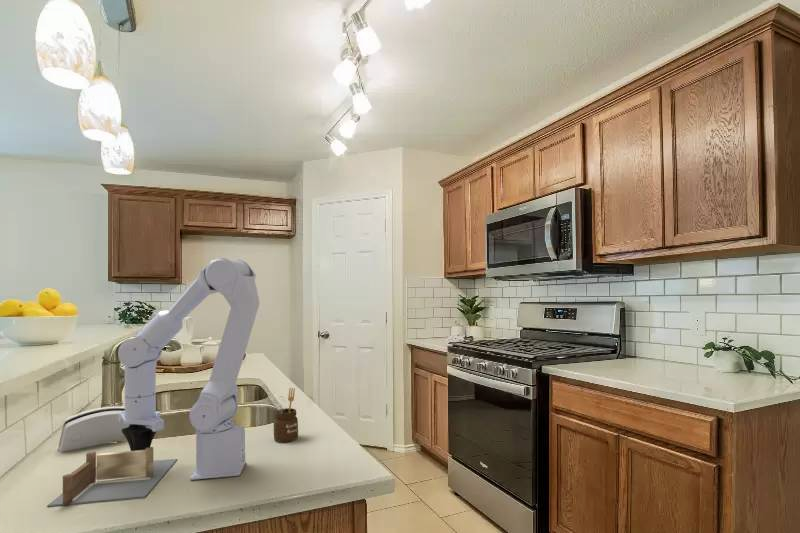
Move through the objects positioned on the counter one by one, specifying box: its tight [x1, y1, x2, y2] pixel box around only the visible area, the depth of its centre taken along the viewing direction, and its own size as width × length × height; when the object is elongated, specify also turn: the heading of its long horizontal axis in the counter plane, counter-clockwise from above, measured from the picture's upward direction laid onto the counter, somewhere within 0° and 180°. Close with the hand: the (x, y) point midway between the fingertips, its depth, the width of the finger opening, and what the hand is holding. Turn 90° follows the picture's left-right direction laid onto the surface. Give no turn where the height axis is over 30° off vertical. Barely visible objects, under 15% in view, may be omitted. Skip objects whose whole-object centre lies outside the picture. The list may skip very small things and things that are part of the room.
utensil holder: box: [273, 387, 299, 444], centre depth 116 cm, size 6×6×12 cm
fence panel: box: [96, 446, 154, 480], centre depth 93 cm, size 10×1×5 cm, turn 101°
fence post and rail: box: [62, 451, 97, 507], centre depth 87 cm, size 2×10×6 cm, turn 9°
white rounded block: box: [57, 405, 130, 453], centre depth 117 cm, size 17×5×10 cm, turn 131°
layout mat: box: [47, 458, 178, 508], centre depth 93 cm, size 16×19×1 cm
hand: (140, 460), depth 97 cm, fingers closed
